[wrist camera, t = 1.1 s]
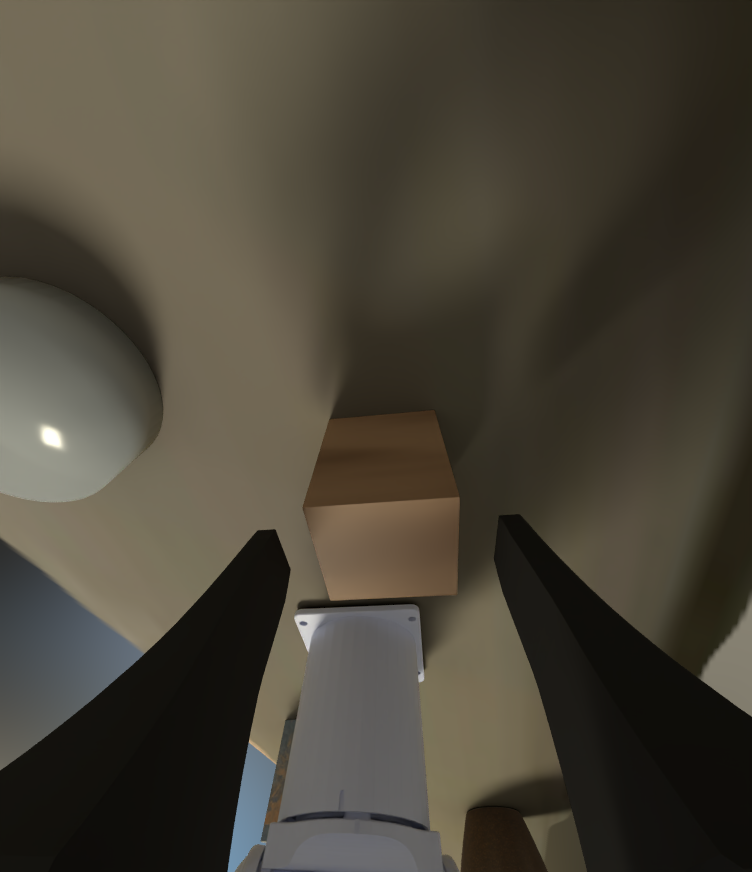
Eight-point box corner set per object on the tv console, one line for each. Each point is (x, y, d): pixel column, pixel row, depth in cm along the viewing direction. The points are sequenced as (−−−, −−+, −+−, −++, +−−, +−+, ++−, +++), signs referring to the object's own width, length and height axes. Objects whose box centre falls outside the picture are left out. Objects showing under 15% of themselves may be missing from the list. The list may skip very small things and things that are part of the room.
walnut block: (436, 491, 16) (457, 594, 11) (345, 497, 17) (330, 600, 12) (434, 409, 14) (459, 497, 9) (329, 418, 14) (302, 507, 10)
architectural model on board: (282, 714, 31) (245, 887, 23) (312, 712, 31) (285, 887, 22) (323, 756, 37) (305, 908, 28) (349, 754, 36) (338, 908, 28)
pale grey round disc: (194, 452, 16) (156, 495, 13) (39, 465, 16) (-27, 508, 14) (105, 262, 11) (23, 269, 9) (-99, 289, 12) (-230, 303, 9)
